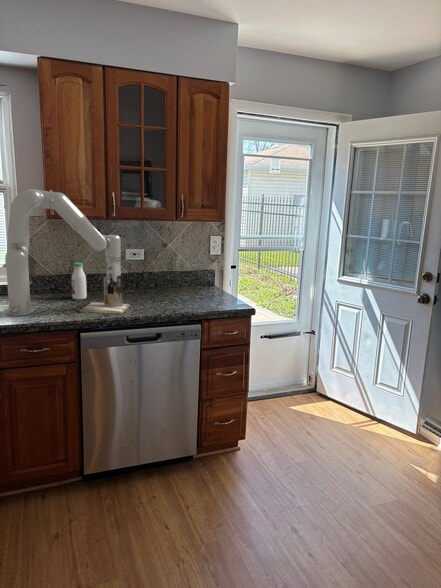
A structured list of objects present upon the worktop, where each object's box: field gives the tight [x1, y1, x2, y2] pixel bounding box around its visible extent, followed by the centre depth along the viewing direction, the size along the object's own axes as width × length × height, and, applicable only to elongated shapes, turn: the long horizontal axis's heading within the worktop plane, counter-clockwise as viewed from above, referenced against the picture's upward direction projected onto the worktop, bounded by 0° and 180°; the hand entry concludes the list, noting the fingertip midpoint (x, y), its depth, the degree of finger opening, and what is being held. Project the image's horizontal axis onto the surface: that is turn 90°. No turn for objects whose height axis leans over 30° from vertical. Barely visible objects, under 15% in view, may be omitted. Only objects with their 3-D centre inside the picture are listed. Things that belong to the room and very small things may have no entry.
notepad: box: [79, 301, 131, 315], centre depth 219 cm, size 17×21×1 cm
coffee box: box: [103, 274, 124, 307], centre depth 220 cm, size 9×6×16 cm
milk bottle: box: [71, 262, 87, 300], centre depth 235 cm, size 8×8×20 cm
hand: (113, 291), depth 221 cm, fingers open, 9 cm apart
